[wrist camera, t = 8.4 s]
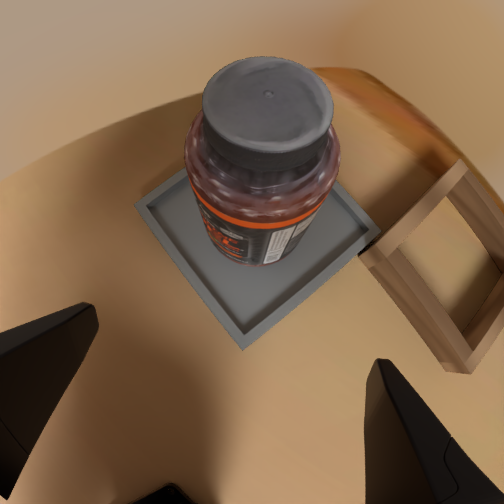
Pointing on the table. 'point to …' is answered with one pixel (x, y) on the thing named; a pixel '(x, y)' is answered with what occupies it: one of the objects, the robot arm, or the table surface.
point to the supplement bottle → (262, 157)
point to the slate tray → (254, 278)
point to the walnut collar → (415, 289)
